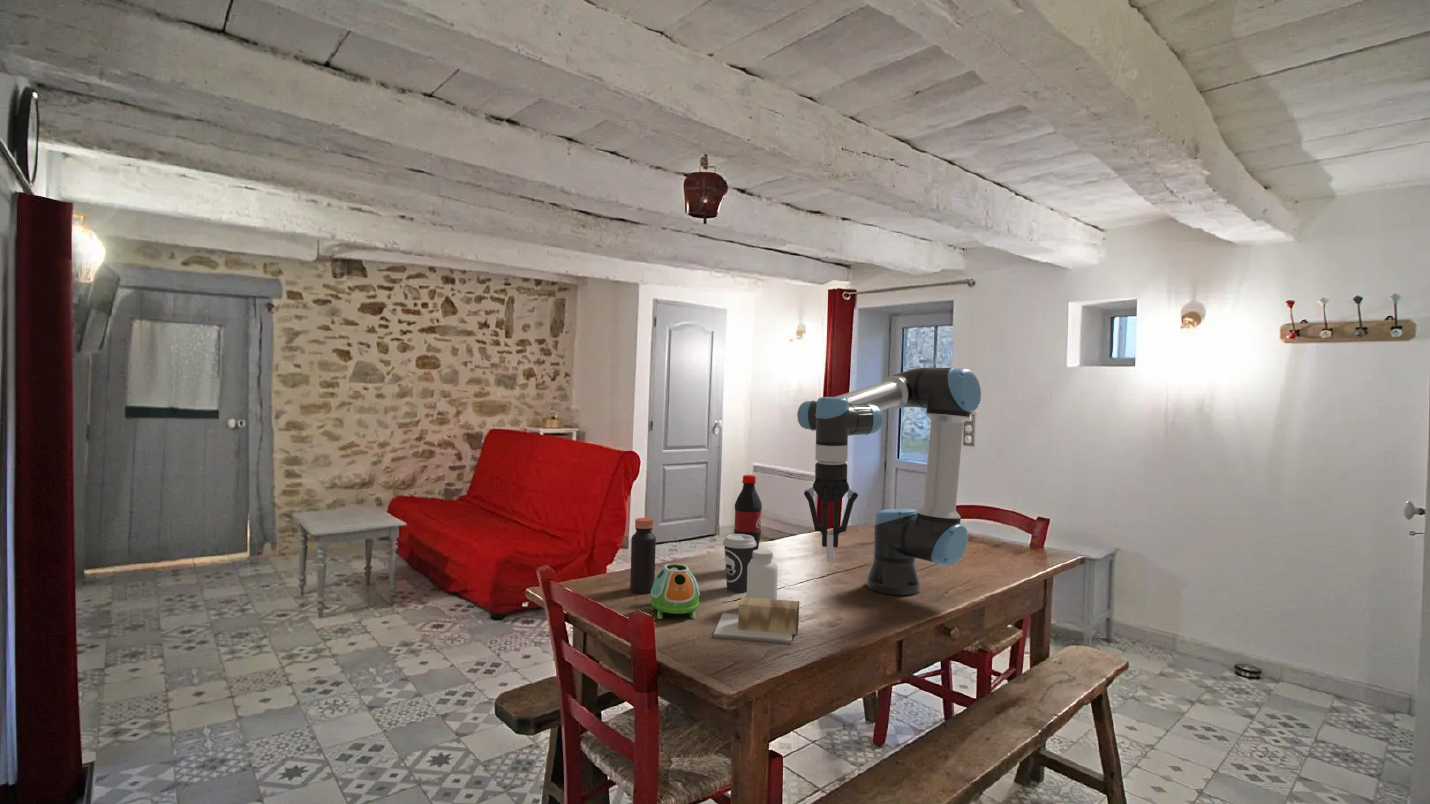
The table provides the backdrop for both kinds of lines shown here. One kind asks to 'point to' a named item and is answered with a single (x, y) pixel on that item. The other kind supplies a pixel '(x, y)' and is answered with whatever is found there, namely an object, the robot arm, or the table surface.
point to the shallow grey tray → (746, 632)
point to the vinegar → (642, 557)
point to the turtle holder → (675, 591)
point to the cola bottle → (748, 510)
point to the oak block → (768, 615)
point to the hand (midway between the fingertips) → (829, 560)
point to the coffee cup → (738, 560)
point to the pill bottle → (762, 575)
